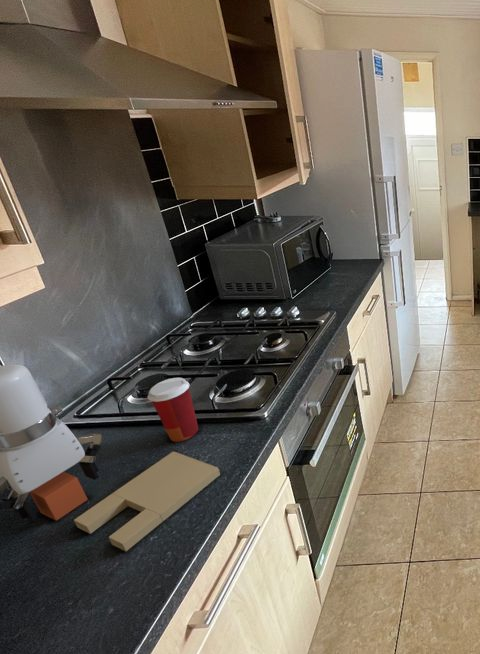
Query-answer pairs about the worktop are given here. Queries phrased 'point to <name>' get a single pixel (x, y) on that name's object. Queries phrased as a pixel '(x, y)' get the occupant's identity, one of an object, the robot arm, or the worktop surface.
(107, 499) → the base pad
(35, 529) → the worktop surface
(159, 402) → the paper cup
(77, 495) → the orange block
